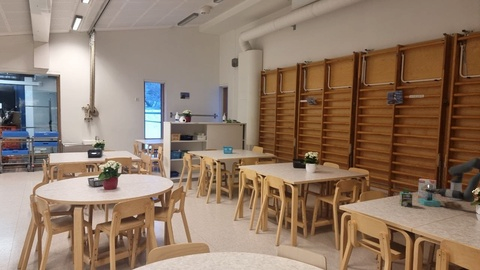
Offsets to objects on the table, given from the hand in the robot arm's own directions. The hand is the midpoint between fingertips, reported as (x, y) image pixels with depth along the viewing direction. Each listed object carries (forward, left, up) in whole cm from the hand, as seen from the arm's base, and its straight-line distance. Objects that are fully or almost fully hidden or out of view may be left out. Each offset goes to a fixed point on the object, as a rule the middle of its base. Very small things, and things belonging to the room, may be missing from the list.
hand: (426, 189), depth 302 cm
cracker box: (-6, -15, -13) cm, 21 cm away
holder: (-20, +3, -13) cm, 24 cm away
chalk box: (+22, +12, -13) cm, 28 cm away
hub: (-2, +2, -13) cm, 13 cm away
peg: (-2, +2, -8) cm, 9 cm away
